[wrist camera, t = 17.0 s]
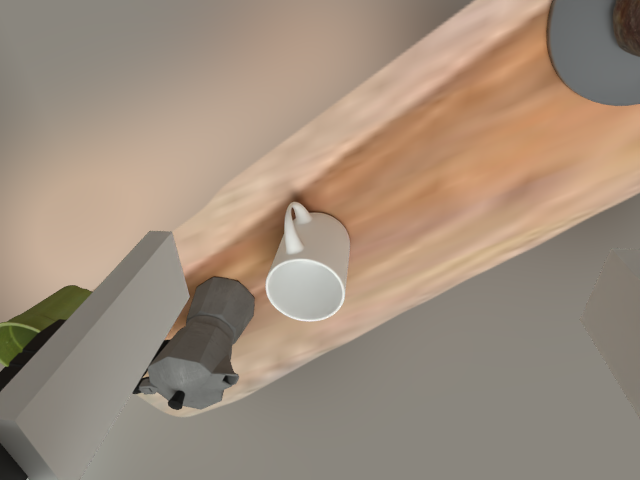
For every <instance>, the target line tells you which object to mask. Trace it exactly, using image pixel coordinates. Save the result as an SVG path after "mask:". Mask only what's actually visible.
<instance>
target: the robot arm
mask: <svg viewBox="0 0 640 480" xmlns="http://www.w3.org/2000/svg"><path fill="white" fill-rule="evenodd" d="M189 298H190V296H189V292H188V288H187V285H186V281H185V278H184V274H183V270H182V267H181V263H180V259H179V256H178V252H177V248H176V245H175V241H174V237H173V234H172V232H165V231H149V232H148V233H147V234H146V235H145V236H144V238H143V239H142V240H141V241H140V242H139V243H138V244H137V245H136V246H135V247H134V248H133V250H132V251H131V252H130V253H129V254H128V255H127V256H126V257H125V258H124V259H123V260H122V261H121V263H120V264H119V265H118V266H117V267H116V268H115V269H114V270H113V271H112V272H111V273H110V274H109V275H108V276H107V277H106V279H105V280H104V281H103V282H102V283H101V284H100V285H99V286H98V287H97V288H96V289H95V290H94V291H93V293H92V294H91V295H90V296H89V297H88V298H87V299H86V300H85V301H84V302H83V303H82V304H81V305H80V307H79V308H78V309H77V310H76V311H75V312H74V313H73V314H72V315H71V316H70V317H69V318H68V319H67V320H64V319H59V320H57V321H56V322H54V323H53V324H51V325H50V326H48V327H46V328H45V329H43V330H42V331H40V332H39V333H38V334H37V335H36V336H35V337H34V338H33V339H32V340H31V341H30V342H29V343H28V344H27V345H26V346H25V347H24V348H23V349H22V350H23V351H22V352H21V353H18V354H17V355H16V356H15V357H14V358H13V359H12V360H11V361H10V362H9V366H8V367H7V366H6V367H5V368H4V369H3V370H2V371H1V372H0V480H26V479H27V478H28V479H29V480H80V479H81V477H82V476H83V474H84V472H85V470H86V469H87V467H88V465H89V464H90V462H91V461H92V459H93V457H94V456H95V454H96V452H97V450H98V449H99V447H100V446H101V444H102V442H103V441H104V439H105V437H106V436H107V434H108V432H109V431H110V429H111V427H112V426H113V424H114V422H115V421H116V419H117V417H118V416H119V414H120V412H121V411H122V409H123V407H124V406H125V404H126V402H127V401H128V399H129V397H130V396H131V394H132V392H133V391H134V389H135V387H136V386H137V384H138V382H139V381H140V379H141V377H142V376H143V374H144V372H145V371H146V369H147V367H148V366H149V364H150V362H151V361H152V359H153V357H154V356H155V354H156V352H157V351H158V349H159V348H160V346H161V344H162V343H163V341H164V339H165V338H166V336H167V334H168V333H169V331H170V329H171V328H172V326H173V324H174V323H175V321H176V319H177V318H178V316H179V314H180V313H181V311H182V309H183V308H184V306H185V304H186V303H187V301H188V299H189ZM580 321H581V322H582V324H583V326H584V327H585V329H586V331H587V332H588V334H589V336H590V337H591V339H592V341H593V342H594V344H595V346H596V347H597V349H598V351H599V352H600V354H601V355H602V357H603V359H604V361H605V362H606V364H607V365H608V367H609V369H610V370H611V372H612V374H613V375H614V377H615V379H616V380H617V382H618V384H619V385H620V387H621V388H622V390H623V392H624V394H625V395H626V397H627V398H628V400H629V402H630V403H631V405H632V407H633V408H634V410H635V412H636V413H637V415H638V416H639V418H640V249H618V248H611V249H610V252H609V254H608V256H607V259H606V261H605V263H604V265H603V268H602V270H601V272H600V275H599V277H598V279H597V281H596V284H595V286H594V288H593V291H592V293H591V295H590V297H589V300H588V302H587V304H586V307H585V309H584V311H583V314H582V316H581V318H580Z"/></svg>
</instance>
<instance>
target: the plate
mask: <svg viewBox="0 0 640 480" xmlns="http://www.w3.org/2000/svg"><path fill="white" fill-rule="evenodd" d="M615 4H616V0H553V1H552V4H551V8H550V12H549V17H548V24H547V47H548V53H549V57H550V60H551V63H552V66H553V68H554V70H555V72H556V74H557V75H558V76H559V78H560V79H561V80H562V82H563V83H564V84H565V85H566V86H567V87H569V88H570V89H571V90H572V91H574V92H575V93H577V94H579V95H580V96H582V97H584V98H587V99H589V100H591V101H594V102H597V103H601V104H606V105H614V106H628V105H635V104H640V57H638V56H635V55H632V54H630V53H627V52H625V51H623V50H622V49H621V48H620V47H619V45H618V44H617V41H616V38H615V36H614V29H613V10H614V7H615Z"/></svg>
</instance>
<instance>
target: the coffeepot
mask: <svg viewBox="0 0 640 480" xmlns="http://www.w3.org/2000/svg"><path fill="white" fill-rule="evenodd" d="M253 314H254V297H253V296H252V294H251V293H250V292H249V291H248V289H247V288H246V287H244V286H243V285H242V284H240V283H239V282H238V281H235V280H232V279H228V278H222V277H219V278H216V277H213V278H211V279H209V280H207V281H205V282H204V283H203V284H201V285H200V286H198V287H197V289H196V292H195V295H194V298H193V301H192V304H191V307H190V310H189V313H188V316H187V322H186V326H185V327H184V328H182V329H180V330H179V331H178V332H177V333H176V335H175V336H174V337H173V338H172V339H171V340H164V341H163V343H162V344H161V346H160V348H159V349H158V351H157V352H156V354H155V356H154V357H153V359H152V361H151V362H150V364H149V366H148V367H147V369H146V371H145V372H144V374H143V376H144V375H145V374H146V372H147V371H148V373H149V377H145V378H142V377H143V376H142V377H141V379H140V381H139V382H138V384H137V386H136V387H135V389H134V391H133V392H132V393H133V394H138V393H144V394H155V393H156V392H158V393H159V394H161V395H162V396H163V397H165V398H166V399H167V400H168V406H170V407H171V408H172V409H176V410H179V409H181V408H182V406H186V407H191V408H196V409H203V408H206V407H208V406H210V405H213V404H215V403H217V402H220V401H221V400H222V396H223V392H224V389H227V388H229V387H231V386H232V385H234V384H236V383H237V381H238V379H239V376H238V374H236V373H234V371H233V369H232V365H231V362H230V359H231V353H232V345H233V344H234V343H235V342H236V341H237V340H238V338H239V337H240V335H241V334H242V332H243V331H244V329H245V328H246V326H247V325H248V323H249V322H250V320H251V319H252V317H253Z"/></svg>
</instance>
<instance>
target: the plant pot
mask: <svg viewBox="0 0 640 480" xmlns="http://www.w3.org/2000/svg"><path fill="white" fill-rule="evenodd" d="M91 294H92V292H91V291H89V290H87V289H82V288H80V287H78V286H75V285H70V286H66V287H64V288H62V289H60V290H59V291H57V292H56V293H54V294H53V295H51V296H49V297H48V298H46V299H45V300H43V301H42V302H40V303H38V304H37V305H35V306H34V307H32V308H31V309H29V310H27V311H26V312H24V313H22V314H21V315H18V316H16V317H14V318H12V319H10V320H9V321H7V322H2V323H0V363H1V364H2V365H4V366H5V367H6V366H7V367H8V366H9V362H10V361H11V360H12V359H13V358H14V357H15V356H16V355H17V354H18V353H21V352H22V351H23V350H22V349H23V348H24V347H25V346H26V345H27V344H28V343H29V342H30V341H31V340H32V339H33V338H34V337H35V336H36V335H37V334H38V333H39V332H40V331H42V330H43V329H45V328H46V327H48V326H50V325H51V324H53V323H54V322H56V321H57V320H59V319H64V320H67V319H68V318H69V317H70V316H71V315H72V314H73V313H74V312H75V311H76V310H77V309H78V308H79V307H80V305H81V304H82V303H83V302H84V301H85V300H86V299H87V298H88V297H89V296H90V295H91Z"/></svg>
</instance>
